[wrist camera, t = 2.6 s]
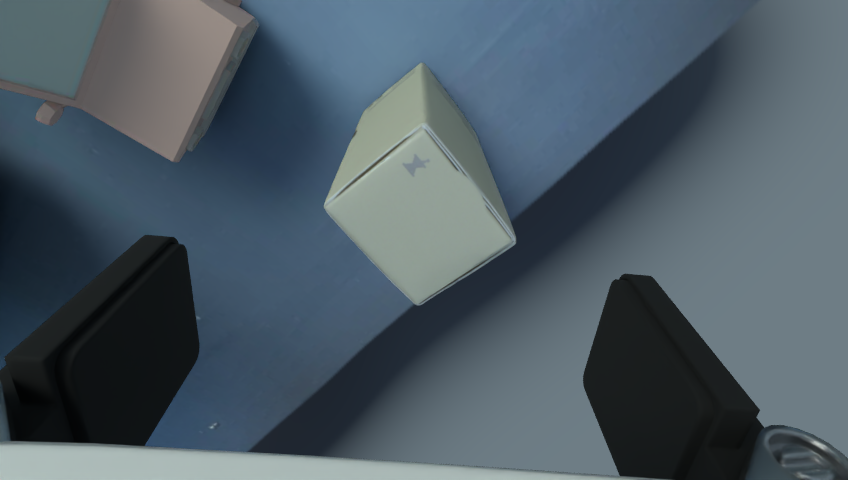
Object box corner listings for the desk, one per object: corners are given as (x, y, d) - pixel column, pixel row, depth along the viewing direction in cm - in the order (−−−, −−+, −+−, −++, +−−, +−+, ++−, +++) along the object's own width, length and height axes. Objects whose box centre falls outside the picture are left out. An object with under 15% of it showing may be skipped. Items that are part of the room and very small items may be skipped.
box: (360, 111, 27) (308, 201, 15) (424, 58, 26) (421, 112, 14) (421, 184, 29) (415, 314, 17) (484, 138, 27) (523, 244, 16)
